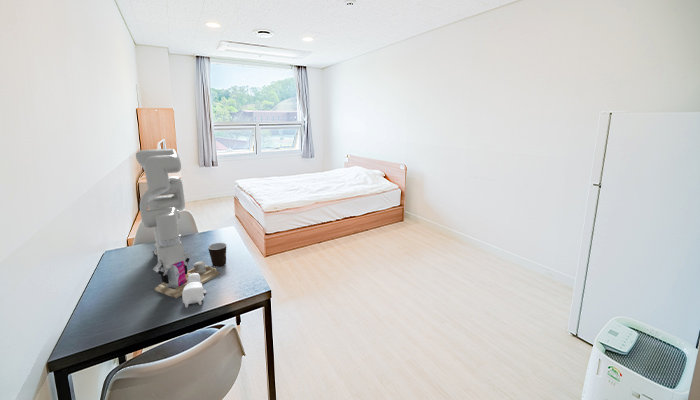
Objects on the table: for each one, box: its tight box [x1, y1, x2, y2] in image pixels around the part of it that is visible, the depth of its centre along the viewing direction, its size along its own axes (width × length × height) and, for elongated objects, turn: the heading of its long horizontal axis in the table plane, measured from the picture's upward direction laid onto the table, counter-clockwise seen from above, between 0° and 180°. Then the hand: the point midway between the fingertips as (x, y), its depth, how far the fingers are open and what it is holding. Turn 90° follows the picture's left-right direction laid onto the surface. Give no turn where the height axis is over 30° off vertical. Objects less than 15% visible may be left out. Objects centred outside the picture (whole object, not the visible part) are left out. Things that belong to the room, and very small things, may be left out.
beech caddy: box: [154, 260, 221, 299], centre depth 145 cm, size 14×23×6 cm, turn 154°
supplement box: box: [164, 261, 186, 289], centre depth 139 cm, size 6×6×12 cm
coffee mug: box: [207, 242, 227, 268], centre depth 163 cm, size 12×9×10 cm
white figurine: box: [181, 273, 207, 308], centre depth 132 cm, size 9×8×15 cm
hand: (175, 277), depth 139 cm, fingers open, 8 cm apart
